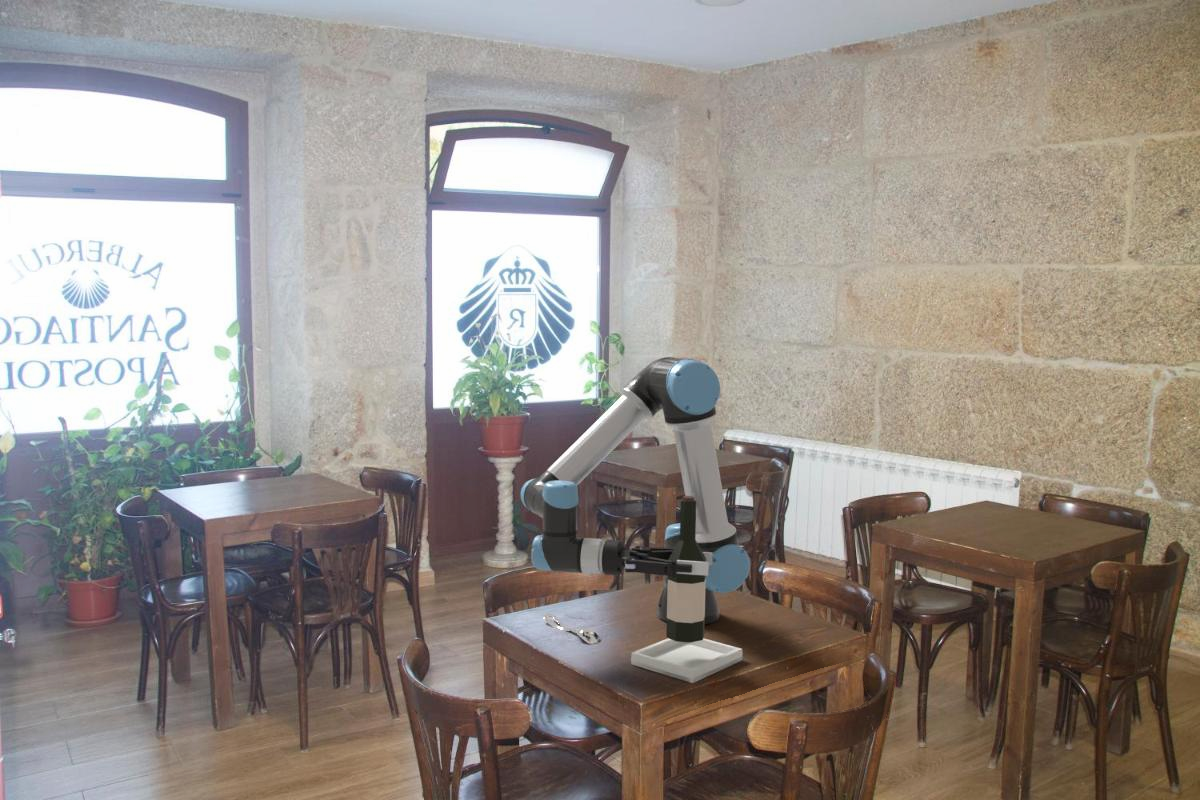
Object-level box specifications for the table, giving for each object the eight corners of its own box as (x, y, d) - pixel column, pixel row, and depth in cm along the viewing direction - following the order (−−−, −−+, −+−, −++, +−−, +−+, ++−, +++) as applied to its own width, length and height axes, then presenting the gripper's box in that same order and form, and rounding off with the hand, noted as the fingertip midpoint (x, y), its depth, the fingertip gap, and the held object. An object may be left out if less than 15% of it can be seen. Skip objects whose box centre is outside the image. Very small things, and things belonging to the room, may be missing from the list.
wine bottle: (658, 637, 214) (661, 497, 212) (677, 627, 221) (681, 491, 219) (693, 645, 210) (696, 502, 207) (711, 634, 217) (715, 496, 214)
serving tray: (682, 643, 228) (682, 632, 228) (742, 660, 218) (742, 648, 217) (631, 664, 215) (631, 652, 215) (692, 683, 204) (692, 671, 204)
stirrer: (538, 607, 242) (555, 604, 245) (538, 621, 243) (554, 618, 246) (586, 635, 226) (603, 631, 229) (585, 650, 227) (602, 646, 230)
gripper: (612, 562, 228) (714, 569, 224) (593, 586, 208) (705, 594, 203) (613, 529, 227) (715, 535, 223) (594, 550, 207) (705, 557, 203)
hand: (710, 563), depth 213 cm, fingers closed on wine bottle, 8 cm apart
